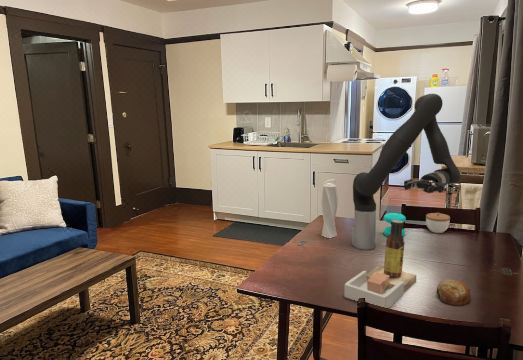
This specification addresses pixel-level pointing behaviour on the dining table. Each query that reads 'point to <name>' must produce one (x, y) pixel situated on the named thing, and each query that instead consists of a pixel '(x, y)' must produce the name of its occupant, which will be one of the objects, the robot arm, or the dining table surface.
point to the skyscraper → (329, 209)
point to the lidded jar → (437, 222)
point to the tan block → (382, 278)
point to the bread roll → (453, 292)
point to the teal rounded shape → (393, 216)
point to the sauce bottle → (394, 250)
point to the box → (359, 290)
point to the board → (395, 278)
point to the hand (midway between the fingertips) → (417, 188)
